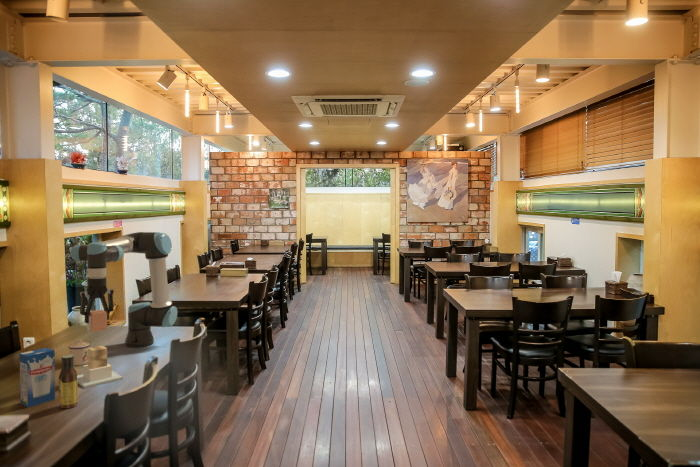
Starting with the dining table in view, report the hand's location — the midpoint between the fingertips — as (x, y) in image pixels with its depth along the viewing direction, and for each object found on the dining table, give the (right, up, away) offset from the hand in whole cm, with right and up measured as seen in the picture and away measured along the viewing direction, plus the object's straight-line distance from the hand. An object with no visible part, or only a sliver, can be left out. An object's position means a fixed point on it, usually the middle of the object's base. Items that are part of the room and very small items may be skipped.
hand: (97, 328), depth 216 cm
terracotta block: (0, 0, 0) cm, 0 cm away
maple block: (0, -17, +1) cm, 17 cm away
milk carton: (-10, -24, -26) cm, 36 cm away
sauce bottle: (+4, -24, -29) cm, 38 cm away
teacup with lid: (-21, -22, +24) cm, 39 cm away
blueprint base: (0, -23, +1) cm, 23 cm away
